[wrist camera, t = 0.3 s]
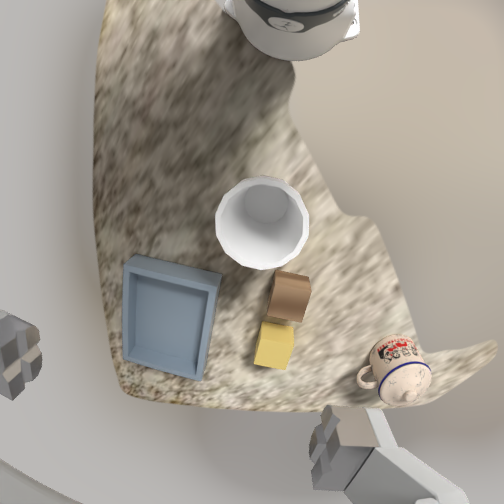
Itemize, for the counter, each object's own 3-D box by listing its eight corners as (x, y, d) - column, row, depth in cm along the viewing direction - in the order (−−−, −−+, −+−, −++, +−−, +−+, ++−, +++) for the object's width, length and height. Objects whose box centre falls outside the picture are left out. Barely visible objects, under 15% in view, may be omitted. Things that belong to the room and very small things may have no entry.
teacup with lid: (416, 327, 49) (442, 368, 38) (413, 366, 52) (433, 409, 41) (350, 341, 51) (364, 387, 40) (352, 380, 54) (363, 427, 43)
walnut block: (275, 269, 48) (275, 283, 43) (308, 276, 48) (311, 291, 43) (267, 299, 49) (266, 315, 45) (299, 305, 49) (301, 322, 45)
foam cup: (240, 239, 46) (227, 276, 34) (224, 176, 44) (204, 190, 31) (306, 226, 45) (317, 259, 33) (293, 161, 42) (299, 169, 30)
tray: (135, 253, 48) (123, 264, 44) (222, 274, 48) (217, 286, 44) (132, 344, 55) (122, 359, 50) (206, 364, 54) (201, 381, 50)
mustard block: (262, 320, 51) (260, 338, 46) (292, 326, 51) (294, 344, 46) (255, 345, 52) (253, 364, 48) (284, 351, 52) (285, 370, 48)
